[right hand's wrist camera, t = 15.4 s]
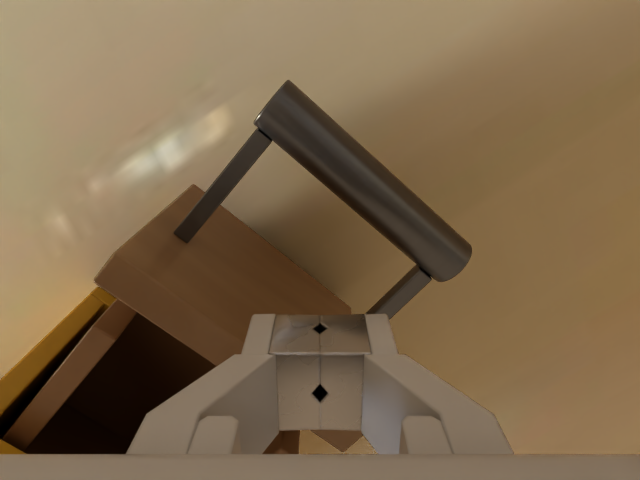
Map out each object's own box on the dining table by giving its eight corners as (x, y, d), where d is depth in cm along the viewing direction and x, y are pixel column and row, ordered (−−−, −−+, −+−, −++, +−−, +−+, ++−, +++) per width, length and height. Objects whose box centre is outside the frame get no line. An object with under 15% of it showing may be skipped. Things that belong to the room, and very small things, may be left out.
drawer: (284, 67, 18) (259, 62, 10) (445, 214, 20) (521, 299, 12) (39, 378, 23) (-97, 526, 16) (187, 468, 25) (131, 636, 18)
